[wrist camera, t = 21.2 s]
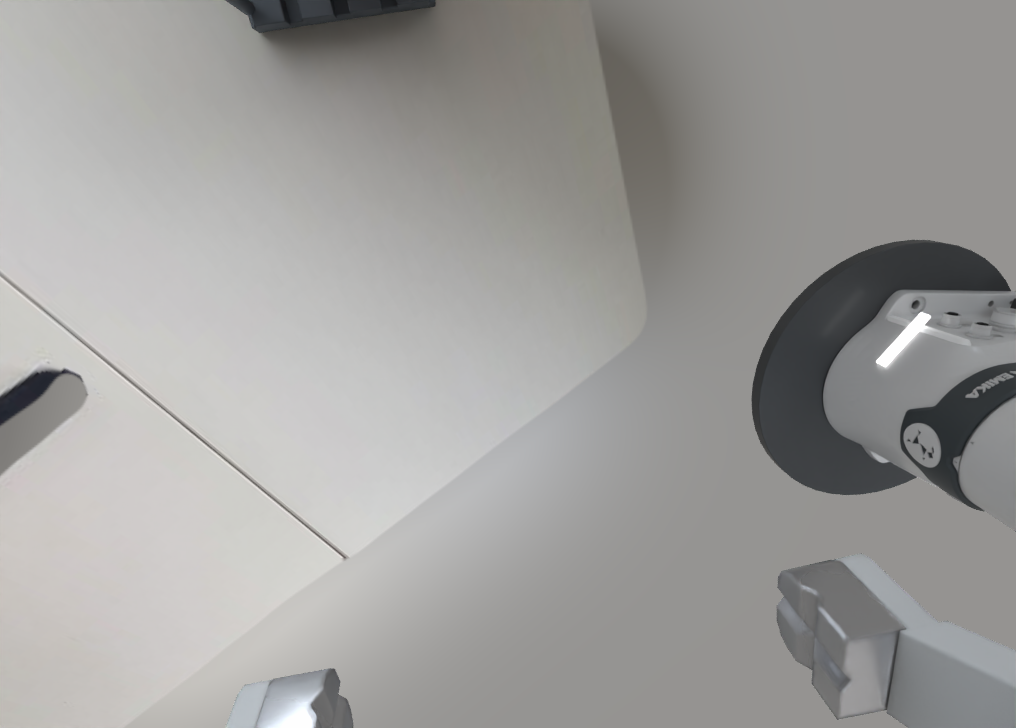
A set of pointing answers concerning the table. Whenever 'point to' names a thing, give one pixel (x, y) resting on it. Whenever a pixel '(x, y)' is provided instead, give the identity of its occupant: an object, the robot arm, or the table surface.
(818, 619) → the robot arm
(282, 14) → the rack
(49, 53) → the table surface
